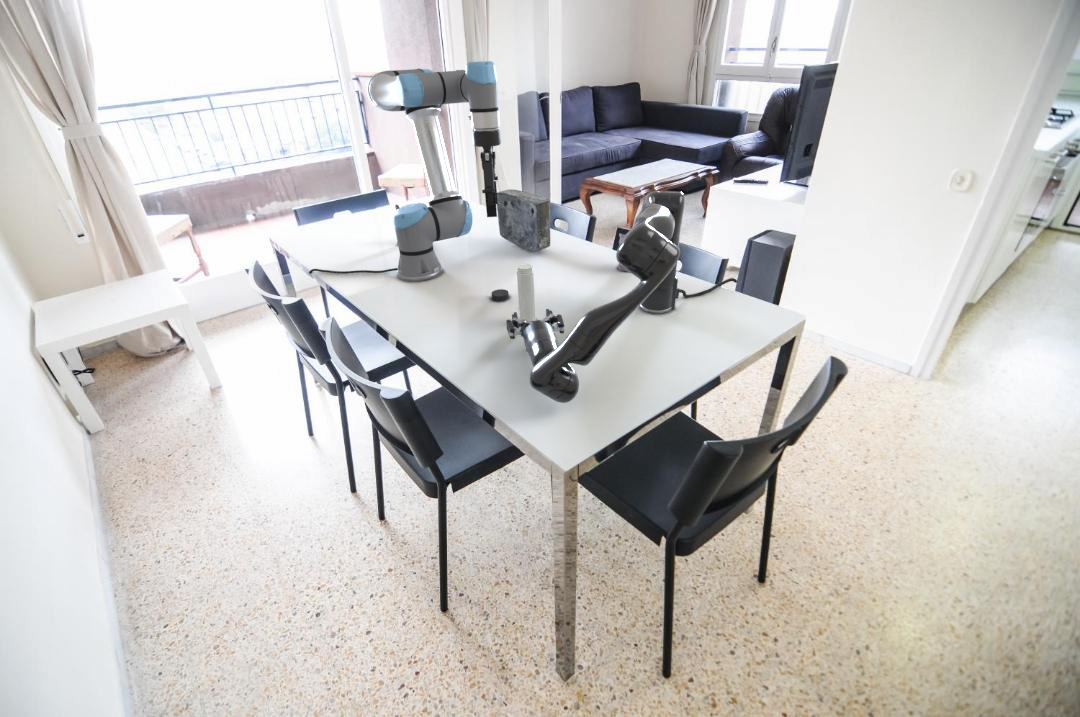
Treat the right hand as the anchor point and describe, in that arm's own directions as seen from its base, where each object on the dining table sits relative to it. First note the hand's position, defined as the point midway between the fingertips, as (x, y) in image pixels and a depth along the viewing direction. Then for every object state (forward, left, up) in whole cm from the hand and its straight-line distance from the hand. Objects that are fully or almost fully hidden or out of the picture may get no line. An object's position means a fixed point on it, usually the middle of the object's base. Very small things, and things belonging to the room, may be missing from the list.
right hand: (531, 313), depth 131 cm
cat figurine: (-40, -41, -7) cm, 58 cm away
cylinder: (0, -9, -7) cm, 11 cm away
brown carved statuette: (+37, -91, -7) cm, 98 cm away
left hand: (+6, -27, +21) cm, 35 cm away
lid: (+6, -27, -5) cm, 28 cm away
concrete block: (-9, -72, -7) cm, 73 cm away
